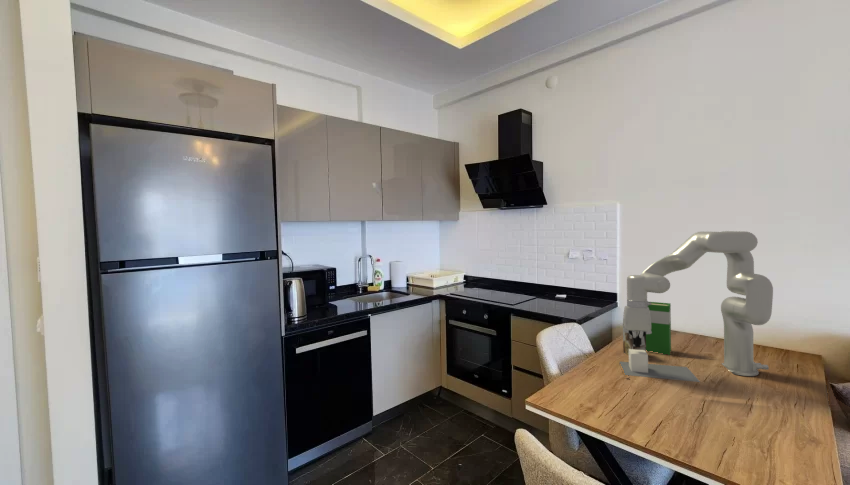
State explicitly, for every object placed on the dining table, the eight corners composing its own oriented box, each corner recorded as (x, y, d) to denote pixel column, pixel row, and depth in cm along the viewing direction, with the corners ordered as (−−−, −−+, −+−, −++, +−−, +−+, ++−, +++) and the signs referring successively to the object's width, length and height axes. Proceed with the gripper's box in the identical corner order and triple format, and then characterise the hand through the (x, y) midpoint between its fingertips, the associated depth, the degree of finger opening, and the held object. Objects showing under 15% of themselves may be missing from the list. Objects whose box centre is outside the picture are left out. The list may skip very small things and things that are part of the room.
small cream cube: (644, 367, 158) (644, 350, 158) (648, 372, 152) (647, 354, 152) (628, 365, 160) (628, 349, 160) (631, 371, 154) (631, 353, 154)
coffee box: (647, 361, 169) (646, 327, 168) (633, 361, 169) (632, 327, 168) (636, 354, 178) (635, 322, 177) (622, 354, 178) (622, 322, 177)
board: (686, 370, 157) (686, 366, 157) (700, 385, 142) (700, 381, 142) (619, 364, 166) (619, 361, 166) (625, 378, 151) (625, 374, 151)
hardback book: (628, 348, 186) (627, 302, 186) (631, 344, 192) (630, 300, 191) (669, 355, 175) (669, 306, 175) (671, 350, 181) (670, 303, 180)
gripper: (654, 303, 156) (655, 345, 157) (616, 301, 161) (616, 342, 162) (659, 306, 149) (659, 350, 150) (618, 305, 154) (619, 347, 155)
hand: (637, 346), depth 156 cm, fingers closed
